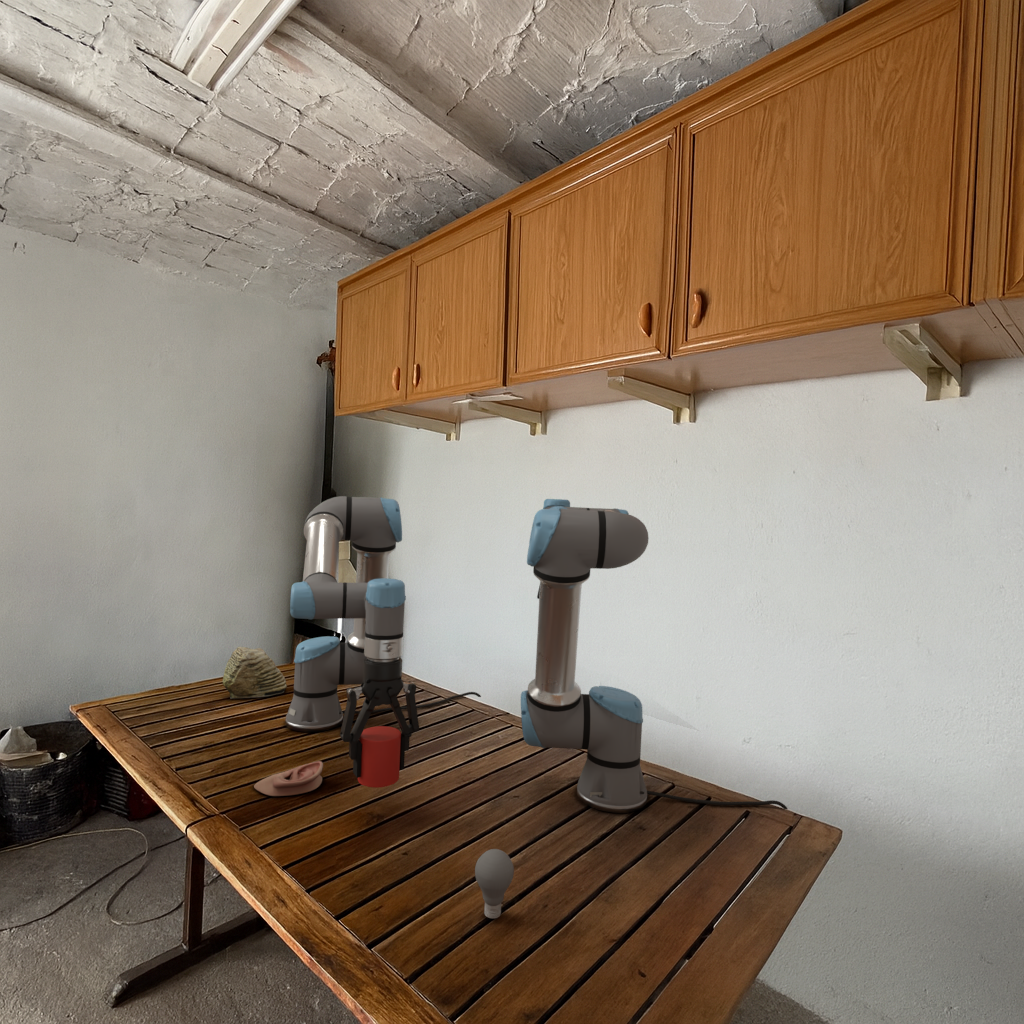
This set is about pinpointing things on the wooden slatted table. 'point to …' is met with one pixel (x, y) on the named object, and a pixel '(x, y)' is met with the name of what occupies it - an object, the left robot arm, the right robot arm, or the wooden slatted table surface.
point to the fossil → (252, 674)
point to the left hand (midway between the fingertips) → (378, 770)
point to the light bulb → (494, 879)
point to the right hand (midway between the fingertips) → (551, 630)
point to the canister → (380, 756)
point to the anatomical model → (292, 781)
